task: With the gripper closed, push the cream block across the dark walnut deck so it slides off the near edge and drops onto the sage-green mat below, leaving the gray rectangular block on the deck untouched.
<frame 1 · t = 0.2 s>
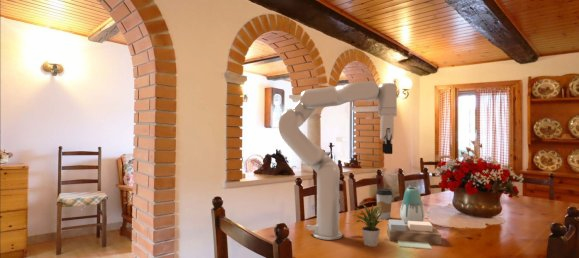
hand: (387, 153, 145), 36 cm above the table, tool pointing down, fingers open, 9 cm apart
deck: (412, 238, 147), on the table
coffee cup: (383, 218, 183), on the table
gray rectangular block: (397, 228, 149), point 4 cm above the table, touching deck
vase: (411, 223, 173), on the table
mat: (414, 245, 138), on the table
cream block: (419, 228, 148), point 4 cm above the table, touching deck
house plant: (370, 243, 140), on the table
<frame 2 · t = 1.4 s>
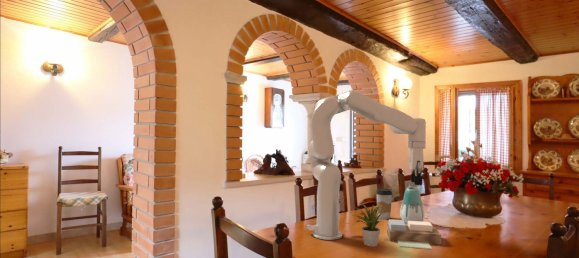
hand: (416, 183, 157), 22 cm above the table, tool pointing down, fingers open, 8 cm apart
nothing on the table moved.
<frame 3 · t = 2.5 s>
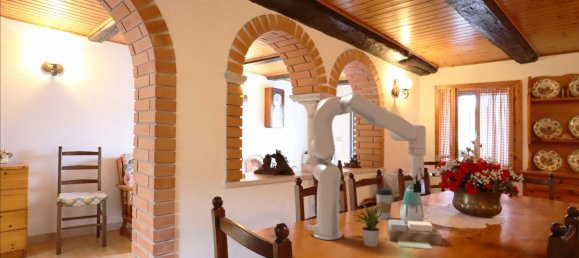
hand: (417, 192, 157), 18 cm above the table, tool pointing down, fingers closed
nothing on the table moved.
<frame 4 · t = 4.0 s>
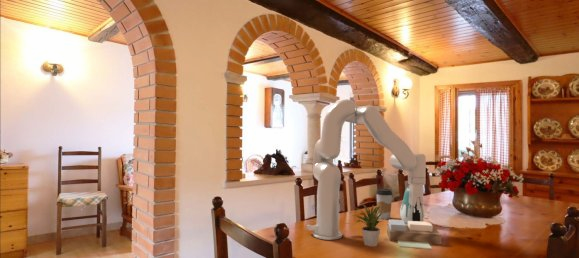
hand: (416, 221, 156), 5 cm above the table, tool pointing down, fingers closed
nothing on the table moved.
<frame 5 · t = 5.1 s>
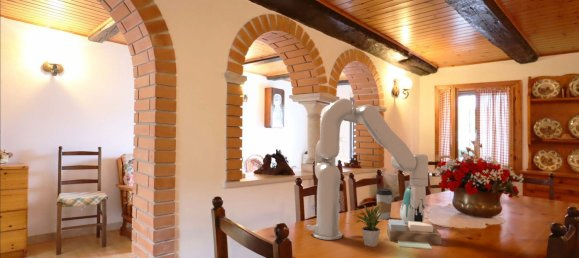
hand: (418, 223, 152), 5 cm above the table, tool pointing down, fingers closed
cream block: (420, 229, 147), point 4 cm above the table, touching deck, gripper
everything else where it was.
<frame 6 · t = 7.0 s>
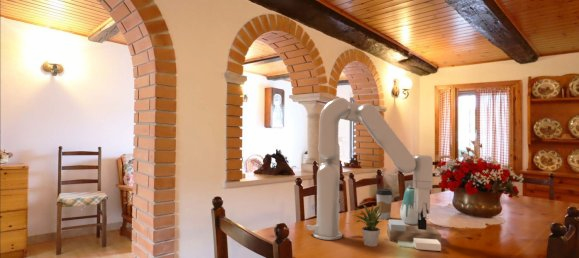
hand: (422, 229, 143), 5 cm above the table, tool pointing down, fingers closed
cream block: (426, 241, 135), point 3 cm above the table, tilted 180°, touching mat
everything else where it was.
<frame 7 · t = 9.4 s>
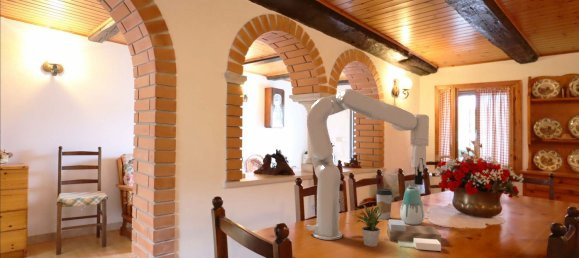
hand: (418, 184, 151), 23 cm above the table, tool pointing down, fingers closed
nothing on the table moved.
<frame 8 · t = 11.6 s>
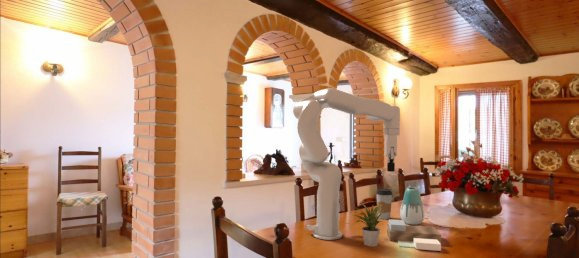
hand: (390, 171, 162), 27 cm above the table, tool pointing down, fingers closed
nothing on the table moved.
at the end: cream block inside the target area on the mat (5.2 cm from its centre), point 2.9 cm above the mat's base; cream block point 2.9 cm above the table; gray rectangular block moved 0.1 cm from its start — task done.
